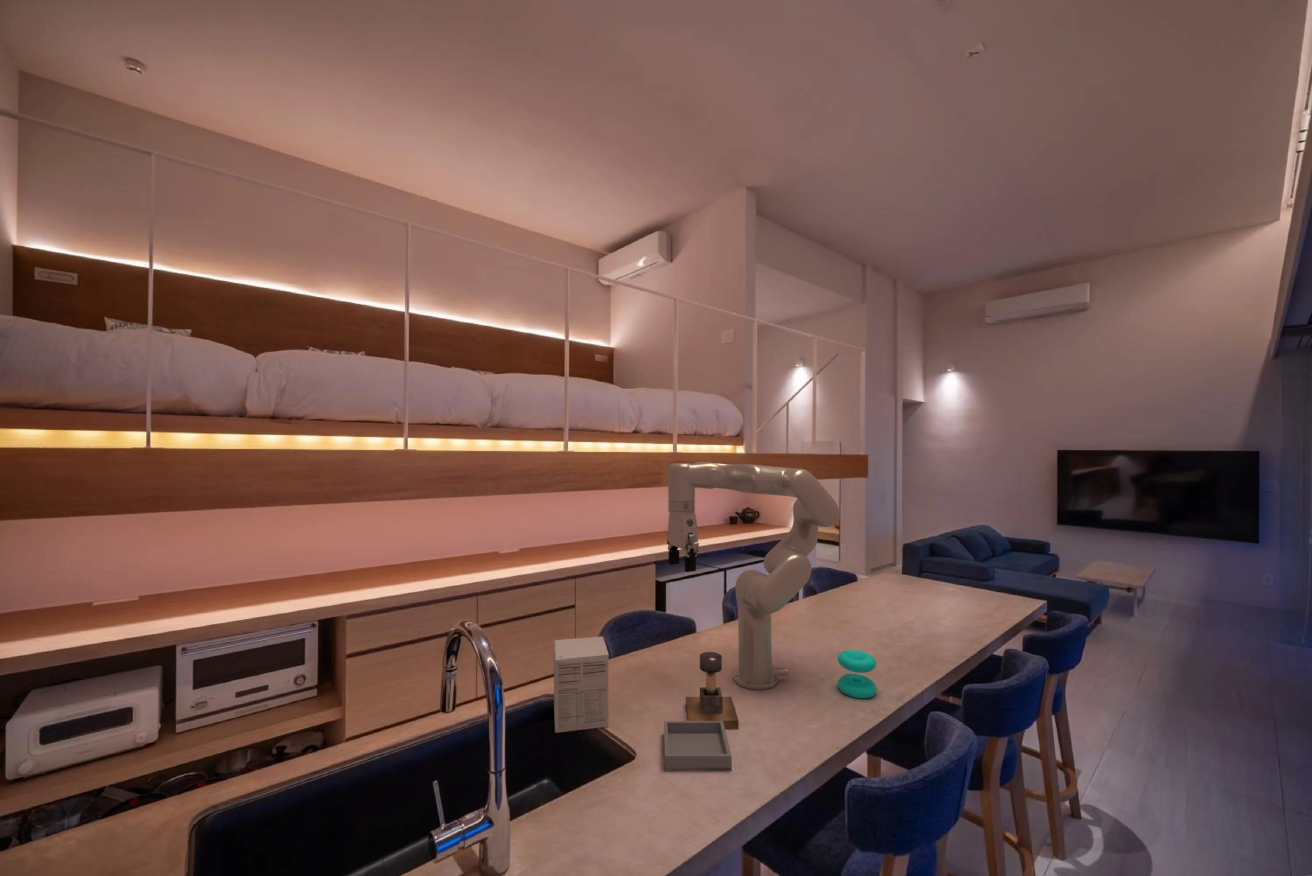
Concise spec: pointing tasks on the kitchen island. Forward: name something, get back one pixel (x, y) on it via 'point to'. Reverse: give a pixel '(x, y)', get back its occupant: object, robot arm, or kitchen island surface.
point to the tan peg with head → (710, 670)
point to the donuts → (854, 682)
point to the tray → (696, 746)
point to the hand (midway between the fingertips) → (681, 567)
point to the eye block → (712, 709)
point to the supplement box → (580, 684)
